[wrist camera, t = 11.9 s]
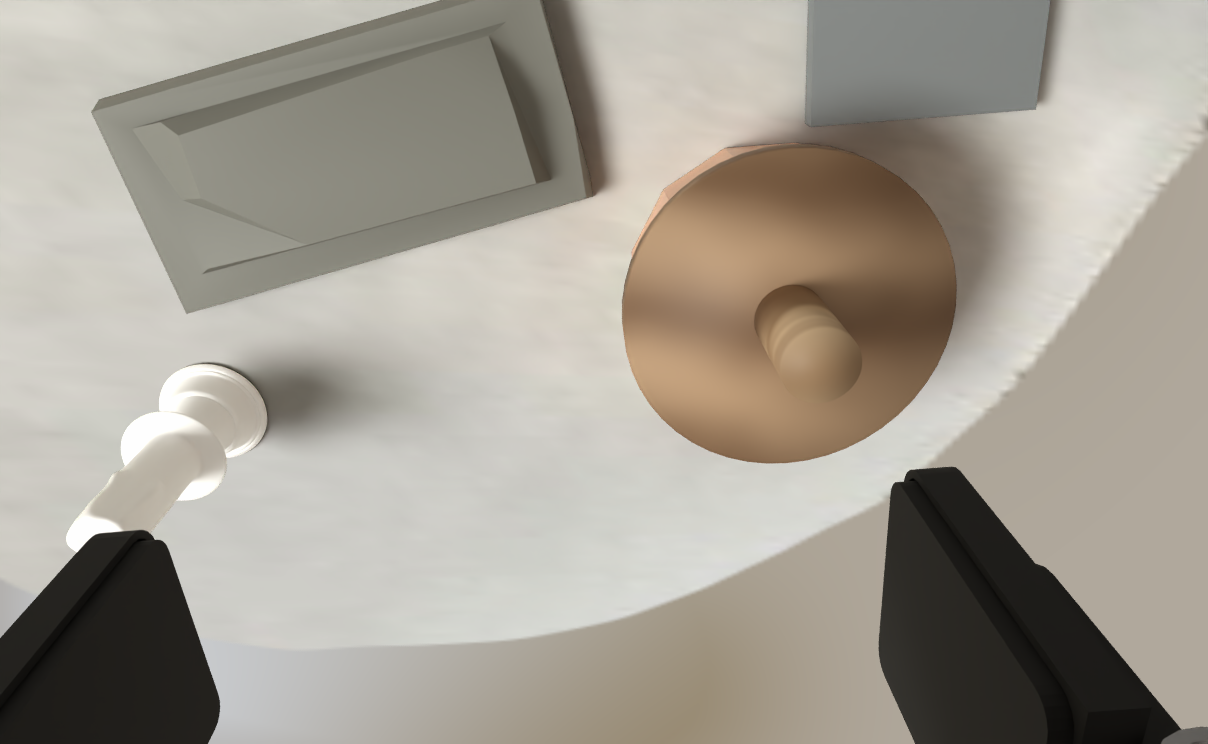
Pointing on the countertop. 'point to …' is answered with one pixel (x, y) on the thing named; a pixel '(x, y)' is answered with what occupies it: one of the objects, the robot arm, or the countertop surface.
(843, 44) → the mat
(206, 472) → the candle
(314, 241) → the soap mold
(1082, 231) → the countertop surface
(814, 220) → the lid
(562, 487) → the countertop surface
